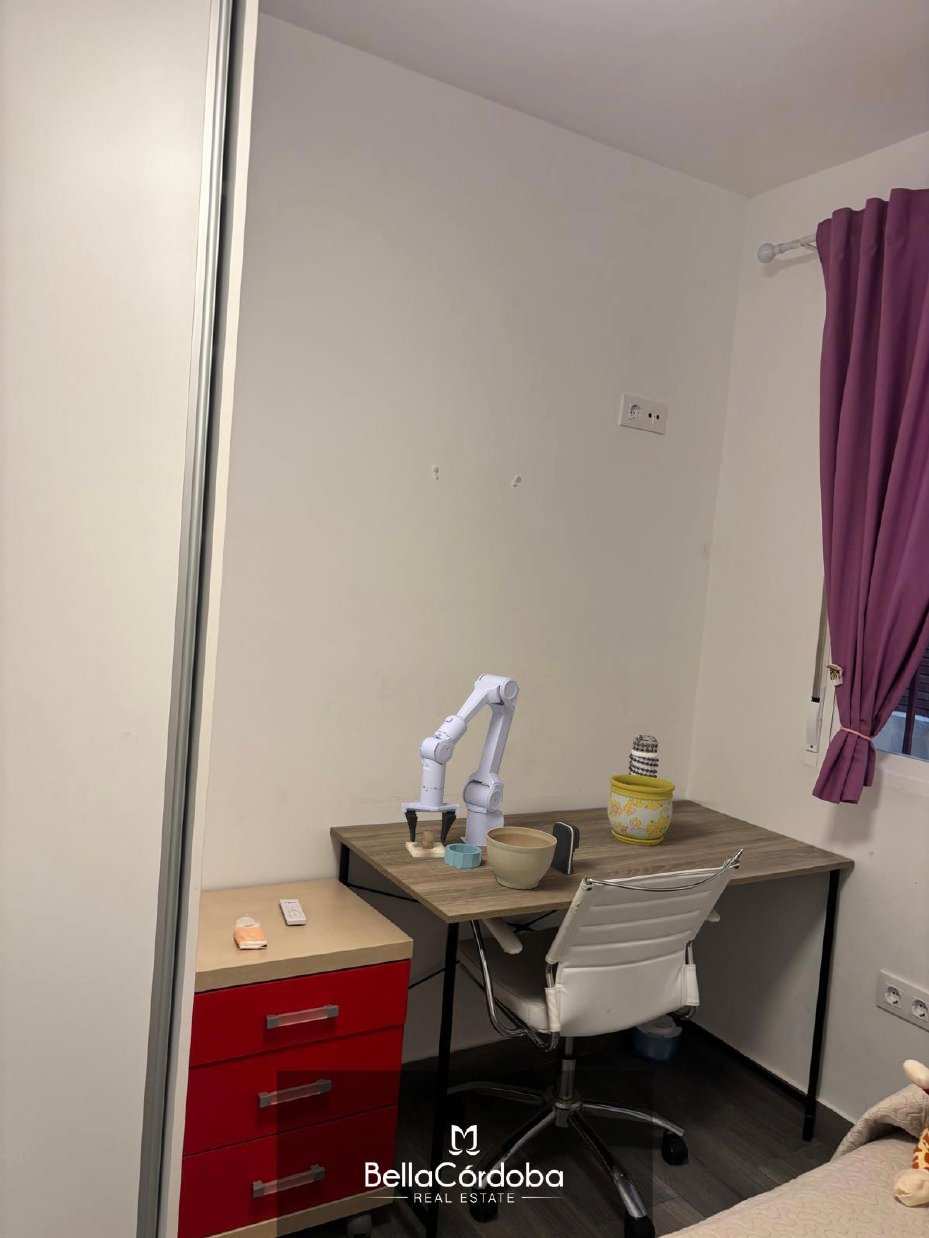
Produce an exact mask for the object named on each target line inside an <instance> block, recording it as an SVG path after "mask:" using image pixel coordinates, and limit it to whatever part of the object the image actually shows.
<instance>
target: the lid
mask: <svg viewBox="0 0 929 1238" xmlns="http://www.w3.org/2000/svg"><path fill="white" fill-rule="evenodd" d="M421 840H422V841H415V842H411V841H405V849H407V850H409V851H408V852H409V854H410V855H411V854H412V855H411V856H412V857H413V858H444V855H445V847H446V846H445V845H444V844H443V843H442V841H441V842H440V841H439V842H437V841H435V831H434V830H432V829H424V830H423V831H422V839H421Z"/></svg>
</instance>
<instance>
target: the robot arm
mask: <svg viewBox="0 0 929 1238" xmlns="http://www.w3.org/2000/svg"><path fill="white" fill-rule="evenodd" d="M519 692H520V687H519V685H518V683H517V681H516V680H515V678H513V677H508V676H507V677H506V676H502V675H496V674H495V675H494V674H490V673H487V672H484V673H482V674H481V675H479V677H478V679H477V680H476V681H475V682H474V685H473V691H472V692H471V694H470V695H469V696H468V698H467V700H466V701H465V702H464V703H463V705H462V706H461V708H460V710H459V711H458V712H457V713H456V714H455V715H454V714H453V715H452V714H451V715H449V716H447V717H446V718H445V719H444V722H443V723H442V724H441V725H440V726H439V728H438V729H436V731H435V732H434V734H433V735H432V736H429V737H426V738H425V739H424V740H423V741H422V742H421V745H420V747H418V754H419V757H420V758H421V762H420V763H421V766H422V769H421V770H422V771H421V772H422V773H421V783H420V793H419V795H420V796H419V801H413V802H412V801H411V802H401V805H400V811H401V813H404V815H405V816H404V817H405V818H406V821H407V822H406V823H407V825H408V831H409V837H410V839H409V841H410V842H416V838H417V837H416V833H417V831H416V830H417V824H418V820H419V817H418V814H417V813H441V830H440V840H439V841H441V843H442V844H443V843H446V841H447V836H448V834H449V832H450V830H451V828H452V825H453V824H454V822H455V821H456V820H457V814H460V812H461V805H460V804H459V803H448V802H444V793H445V781H446V770H447V763H448V762H449V761H450V760H451V759H452V757H453V754H454V750H455V748H456V745H457V743H458V742H459V741H460V740H461V739H462V737H463V736H464V735H466V734H465V733H467V731H468V723H469V722H470V721H471V720H472V719H473V718H474V717H475V716H476V715H477V714H478V713H479V712H480V711H481V710H482V709H483V707H484V706H486V705H488V706H489V707H490V709H491V711H492V714H491V719H490V723H489V727H488V729H487V733H486V737H485V741H484V745H483V749H482V752H481V756H480V759H479V764H478V767H477V770H475V771H474V772H472V773H470V774H469V776H468V778H467V781H466V783H465V784H464V786H463V789H462V792H461V793H462V794H461V796H462V801H463V803H465V808H467V809H466V823H465V834H464V836H460V837H459V839H461V840H462V842H464V844H469V845H474V846H476V847H487V839H486V833H487V831H489V830H490V829H493V828H498V827H505V826H504V824H505V821H504V820H505V819H504V818H505V817H504V814H503V811H502V810H501V809H500V808H501V806H502V804H503V801H504V786H505V785H504V784H505V783H503V781H502V780H501V778H500V777H499V772H500V768H501V764H502V760H503V757H504V752H505V749H506V746H507V741H508V737H509V733H510V731H511V726H512V722H513V717H514V715H515V711H516V704H517V700H518V696H519Z"/></svg>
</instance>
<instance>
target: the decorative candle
mask: <svg viewBox="0 0 929 1238" xmlns="http://www.w3.org/2000/svg"><path fill="white" fill-rule="evenodd" d="M632 741H633V742H632V749H631V753H630V754H629V756H628V758H629V759H630V760H629V762H628V764H629V766H628V771H629V772H628V774H627V775H640V776H648V777H653V778H658V776H657V773H658V770H657V769H656V768H657V767H660V766H659V763H658V762H659V761H660V759H659V758H658V754H659V752H658V748H659V744H660V742H659V741H658V739H656V737H655V736H654V735H653V736H652V735H646V734H638V735H636V736H635V737H634V738H633V739H632Z"/></svg>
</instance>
